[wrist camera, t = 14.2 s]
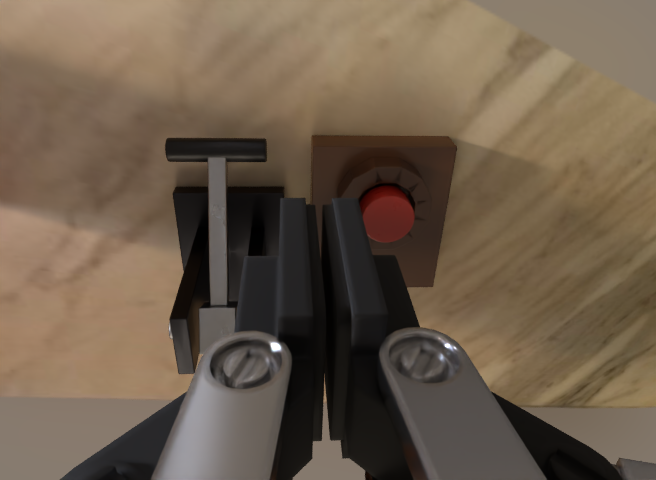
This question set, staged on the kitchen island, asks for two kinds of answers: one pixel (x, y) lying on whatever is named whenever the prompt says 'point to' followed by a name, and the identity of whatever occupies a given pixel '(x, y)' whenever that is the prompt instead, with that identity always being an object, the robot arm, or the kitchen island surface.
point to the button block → (395, 170)
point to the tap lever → (217, 221)
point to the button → (387, 213)
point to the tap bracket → (193, 229)
